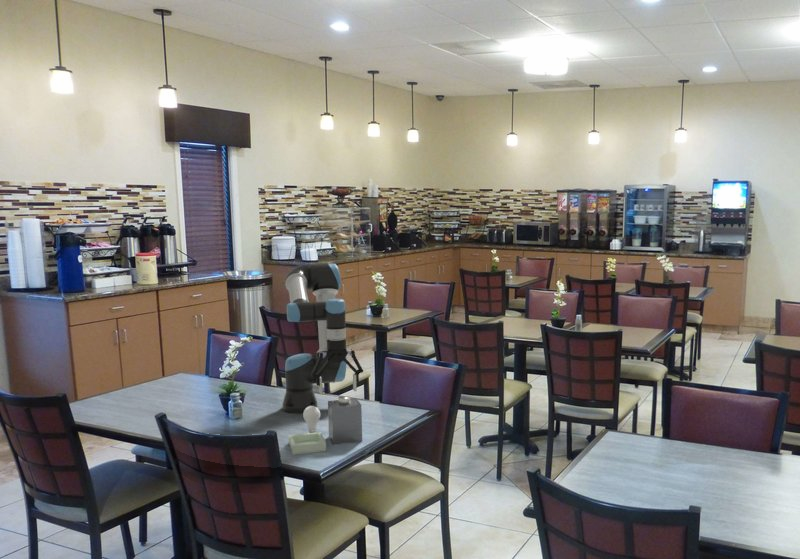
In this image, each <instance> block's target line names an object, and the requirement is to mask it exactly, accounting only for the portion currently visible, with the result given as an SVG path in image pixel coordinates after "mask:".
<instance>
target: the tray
mask: <svg viewBox="0 0 800 559" xmlns="http://www.w3.org/2000/svg"><path fill="white" fill-rule="evenodd" d="M288 445H289V448H290V451H291V454H292V455H301V454H310V453H316V452H326V451H327V441H326V440H325V438H324V436H323V434H322V432H321V431H318V432H317V431H316V433H309V432H307V433H301V434H300V433H298V434H291V435H290V434H288Z"/></svg>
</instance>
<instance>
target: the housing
mask: <svg viewBox="0 0 800 559" xmlns="http://www.w3.org/2000/svg"><path fill="white" fill-rule="evenodd" d="M327 412H328V413H327V415H328V419H327V420H328V438H329V440H330V441H331V444H332V445H333V446H334V445H341V444H349V443H350V444H352V443H359V442H363V423H362V420H363V418H362V417H363V416H362V414H363V413H362V404H361V403H360V401H359V399H357V398H351V396H347V395H345V396H344V395H342V396H339V397H338V398H337V400H336V399H335V400H328V401H327Z"/></svg>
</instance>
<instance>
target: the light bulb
mask: <svg viewBox="0 0 800 559" xmlns="http://www.w3.org/2000/svg"><path fill="white" fill-rule="evenodd" d="M302 416H303V420H304V421H305V422H306V425H307V428H308V433H316V432H317V425H318V422H319V420H320V418H321V411H320V409H319V408H318V406H317V407H315V406H309V407H307V408H306V409H305V410H304V412H303V414H302Z"/></svg>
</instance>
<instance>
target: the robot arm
mask: <svg viewBox="0 0 800 559" xmlns="http://www.w3.org/2000/svg"><path fill="white" fill-rule="evenodd" d="M338 266H339V265H337V264H336V263H329V262H325V263H304V264H300V265H297V266H295V267H293V268H292V269H291V270H290V271H289V272H288V273H287V275H286V276H285V280H284V285H285V288H286V290H287V291H288V295H289V303H287V305H286V320H287V321H288V322H291V323H294V322H295V323H300V322H301V323H302V322H314V321H315V322H317V328H318V329H317V331H318V333H317V334H318V344H319V346H318V347H319V349H318V350H317V351H316V353H315V355H316V356H313V355H312V353H309V352H308V353H304V352H303V353H298V354H294V355H291V356H289V357H287V358H286V360H285V364H284V366H285V367H284V371H285V393H284V394H285V395H284V398H283V401H282V410H283V411H284V412H286V413H293V414H301V413H303V412H304V410H305V409H306V408H307V407H309V406H315V407H317V408H318V400H317V398H316V395H315V391H314V386H313V385H316V386H317V387H318V393H319V395H323V384H329V383H332V384H335V383H341V382H343V381H344V380H345V378H346V373H347V367H348V368H350V369H351V370H352V372H354V373H352V390H353V392H357V390H358V388H357V383H359V382H360V374H362V373H364V369H363V368H362V366H361V364H360V362H359V361H358V358H357V357H356V353H355V350H354V349H353V348H352V349H350V350H347V339H346V338H347V328H346V326H347V325H346V309H347V308H346V301H345V300H344V299H343V298H342V299H341V298H336V296H337V294H338V293H339V289H341V288H342V279H341V278H342V277H341V273H340V269H339V267H338ZM309 290H310V291H312V294H313V296H314V297H315V299H316V301H309V296H308V291H309ZM348 355H349V356H351V358H352V360H353V362H354V364H355V365H356V367H357V369H356V368H355V366H354V365H353V364H352V363H350V361H349V360H348V358H347V356H348Z"/></svg>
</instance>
